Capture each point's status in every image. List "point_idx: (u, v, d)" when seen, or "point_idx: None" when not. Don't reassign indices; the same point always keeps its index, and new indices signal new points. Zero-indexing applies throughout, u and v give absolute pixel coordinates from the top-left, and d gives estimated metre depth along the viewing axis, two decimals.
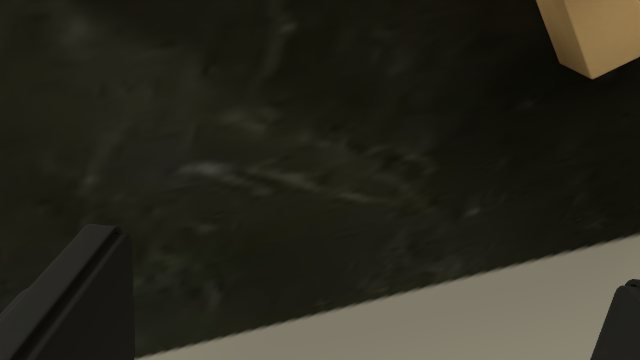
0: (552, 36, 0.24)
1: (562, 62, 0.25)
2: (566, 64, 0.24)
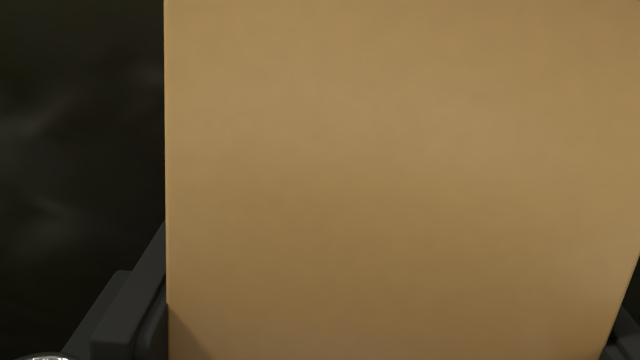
0: None
1: None
2: None
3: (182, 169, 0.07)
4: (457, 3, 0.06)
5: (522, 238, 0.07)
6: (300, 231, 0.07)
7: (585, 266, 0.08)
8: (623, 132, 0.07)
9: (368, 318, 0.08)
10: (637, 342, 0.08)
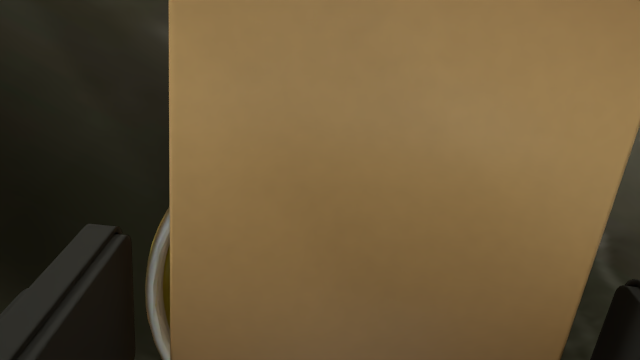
0: None
1: None
2: None
3: (185, 158, 0.08)
4: (431, 7, 0.07)
5: (495, 221, 0.08)
6: (293, 216, 0.08)
7: (552, 247, 0.08)
8: (583, 124, 0.07)
9: (356, 295, 0.09)
10: None
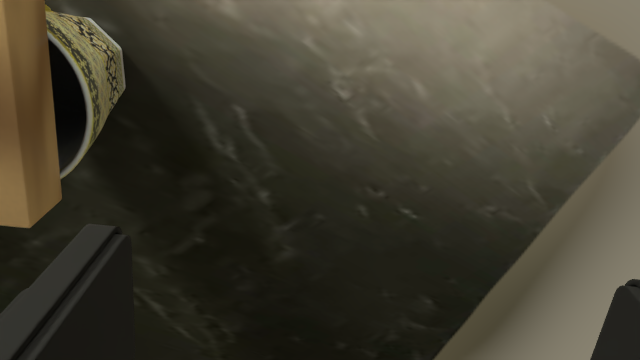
0: None
1: None
2: None
3: None
4: None
5: None
6: None
7: None
8: None
9: None
10: None
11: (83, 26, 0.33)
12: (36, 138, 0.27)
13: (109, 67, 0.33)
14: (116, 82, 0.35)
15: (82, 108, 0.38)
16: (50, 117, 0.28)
